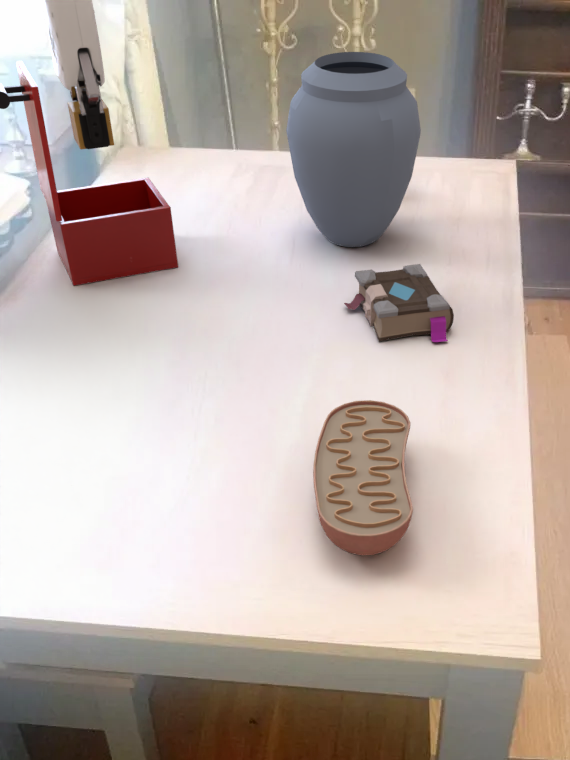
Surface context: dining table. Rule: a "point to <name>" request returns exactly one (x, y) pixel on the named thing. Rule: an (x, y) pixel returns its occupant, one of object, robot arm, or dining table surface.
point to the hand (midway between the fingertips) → (93, 139)
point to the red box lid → (34, 132)
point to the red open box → (114, 231)
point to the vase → (353, 144)
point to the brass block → (76, 127)
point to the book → (402, 304)
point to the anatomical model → (363, 476)
